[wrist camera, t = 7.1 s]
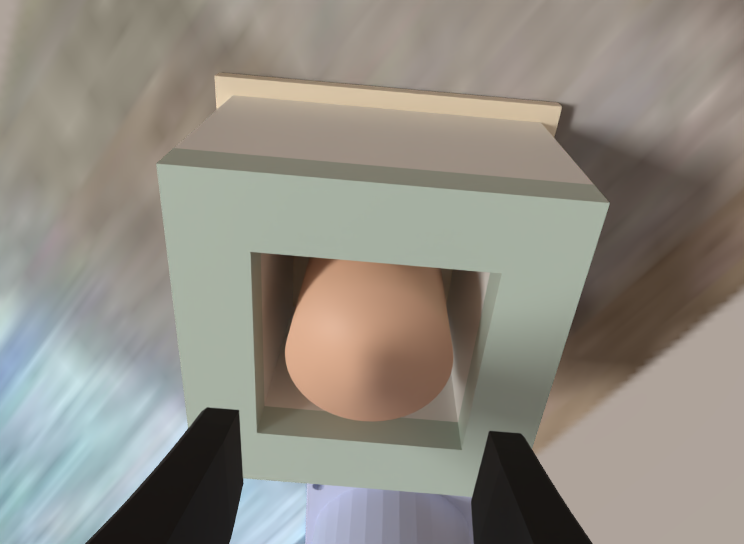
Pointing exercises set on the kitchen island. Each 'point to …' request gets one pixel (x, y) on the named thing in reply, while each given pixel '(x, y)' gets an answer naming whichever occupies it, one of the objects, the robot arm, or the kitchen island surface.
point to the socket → (379, 245)
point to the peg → (370, 338)
